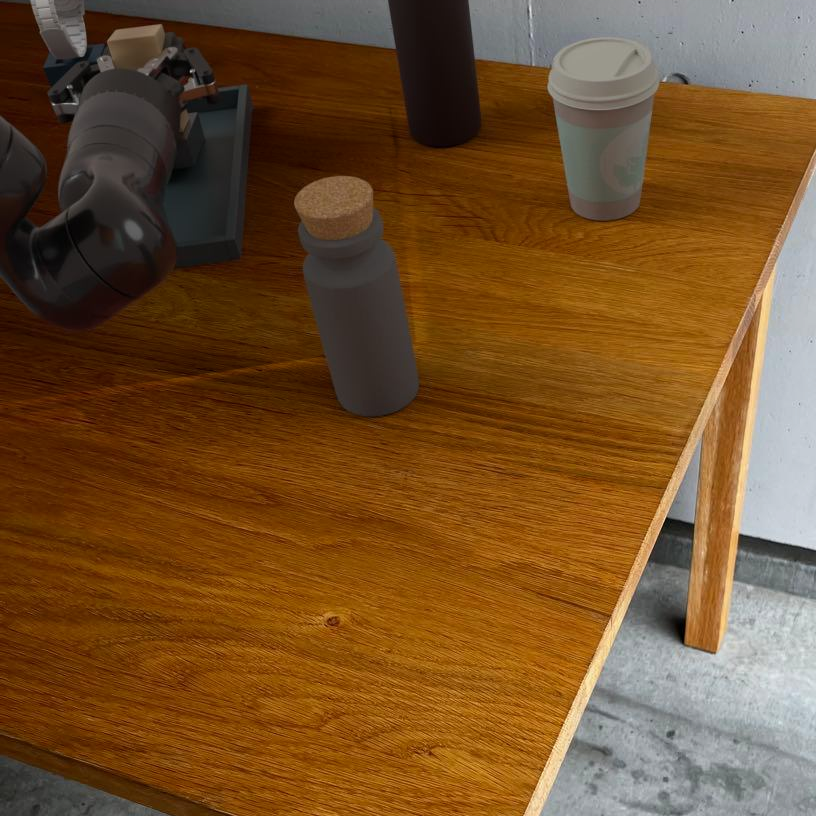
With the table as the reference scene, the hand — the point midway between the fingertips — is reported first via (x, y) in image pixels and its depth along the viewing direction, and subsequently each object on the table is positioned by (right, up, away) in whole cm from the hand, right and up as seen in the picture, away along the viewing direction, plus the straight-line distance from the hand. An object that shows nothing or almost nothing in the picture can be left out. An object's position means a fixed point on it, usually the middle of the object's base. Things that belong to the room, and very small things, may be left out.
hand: (147, 47), depth 92 cm
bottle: (+23, -33, -19) cm, 44 cm away
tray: (+2, -12, +2) cm, 12 cm away
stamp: (+1, -8, +3) cm, 9 cm away
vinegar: (+26, -5, +6) cm, 27 cm away
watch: (-13, +4, +17) cm, 22 cm away
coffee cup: (+40, -15, -4) cm, 43 cm away
